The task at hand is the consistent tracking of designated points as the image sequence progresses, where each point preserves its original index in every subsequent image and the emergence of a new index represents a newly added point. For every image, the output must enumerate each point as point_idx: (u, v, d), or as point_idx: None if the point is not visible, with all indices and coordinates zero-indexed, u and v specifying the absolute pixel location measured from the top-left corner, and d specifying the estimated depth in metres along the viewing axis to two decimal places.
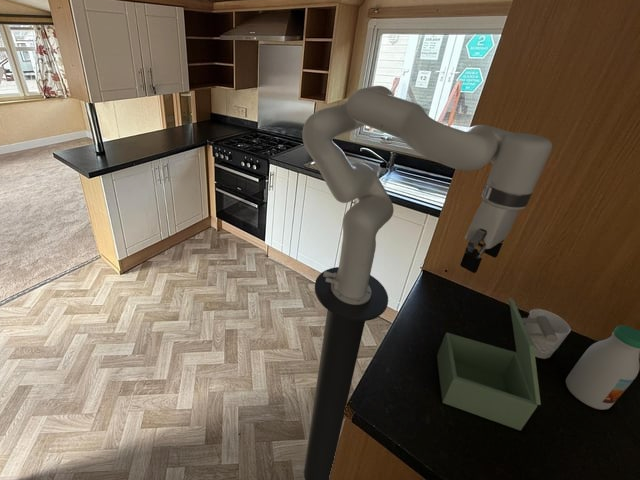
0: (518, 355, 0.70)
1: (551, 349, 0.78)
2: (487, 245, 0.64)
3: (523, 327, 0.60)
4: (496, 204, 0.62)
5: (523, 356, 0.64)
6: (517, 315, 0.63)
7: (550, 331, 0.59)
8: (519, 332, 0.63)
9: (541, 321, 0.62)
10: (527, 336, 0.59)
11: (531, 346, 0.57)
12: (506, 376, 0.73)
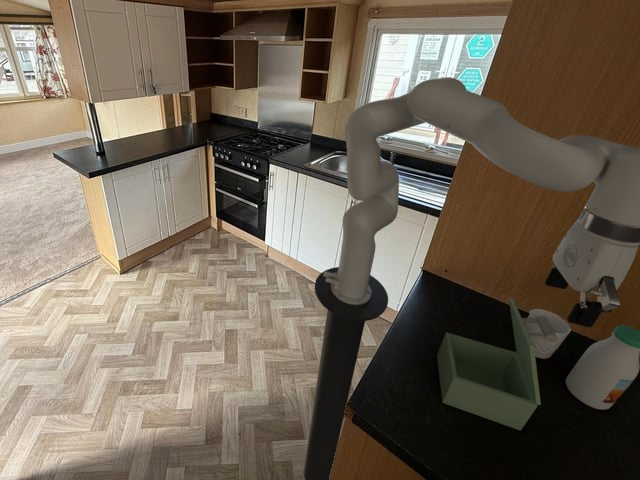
0: (518, 355, 0.70)
1: (551, 349, 0.78)
2: None
3: (523, 327, 0.60)
4: (624, 243, 0.47)
5: (523, 356, 0.64)
6: (517, 315, 0.63)
7: (550, 331, 0.59)
8: (519, 332, 0.63)
9: (541, 321, 0.62)
10: (527, 336, 0.59)
11: (531, 346, 0.57)
12: (506, 376, 0.73)
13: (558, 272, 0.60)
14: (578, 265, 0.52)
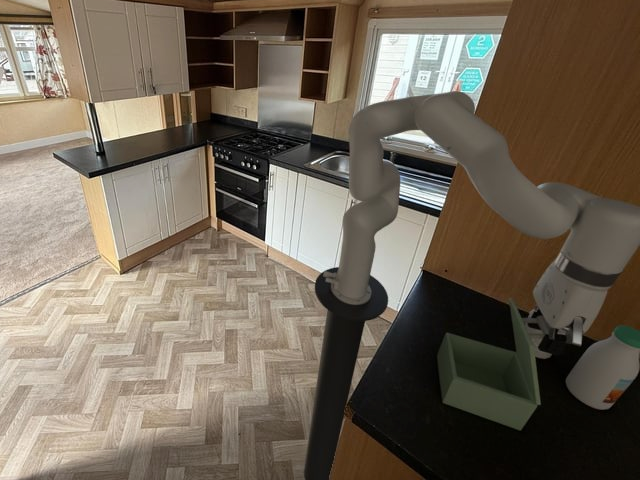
0: (518, 355, 0.70)
1: None
2: (584, 331, 0.54)
3: (523, 327, 0.60)
4: (594, 287, 0.51)
5: (523, 356, 0.64)
6: (517, 315, 0.63)
7: None
8: (519, 332, 0.63)
9: (541, 321, 0.62)
10: (527, 336, 0.59)
11: (531, 346, 0.57)
12: (506, 376, 0.73)
13: None
14: (554, 304, 0.56)
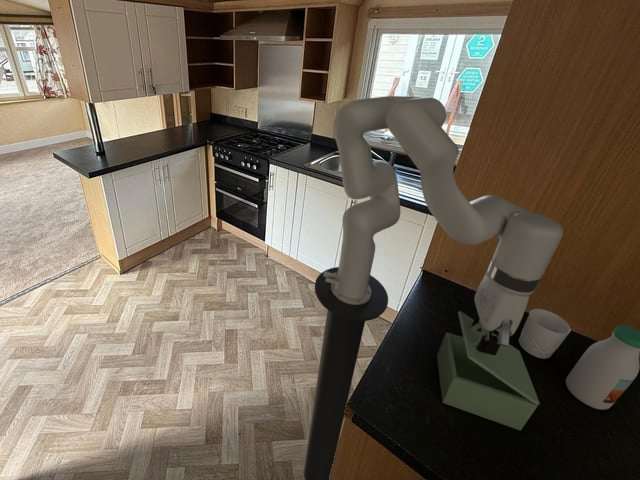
0: None
1: (551, 349, 0.78)
2: (512, 333, 0.59)
3: (465, 339, 0.66)
4: (518, 292, 0.56)
5: None
6: (462, 328, 0.69)
7: (484, 332, 0.64)
8: None
9: (480, 324, 0.67)
10: (467, 347, 0.65)
11: (469, 357, 0.63)
12: None
13: None
14: (487, 308, 0.61)
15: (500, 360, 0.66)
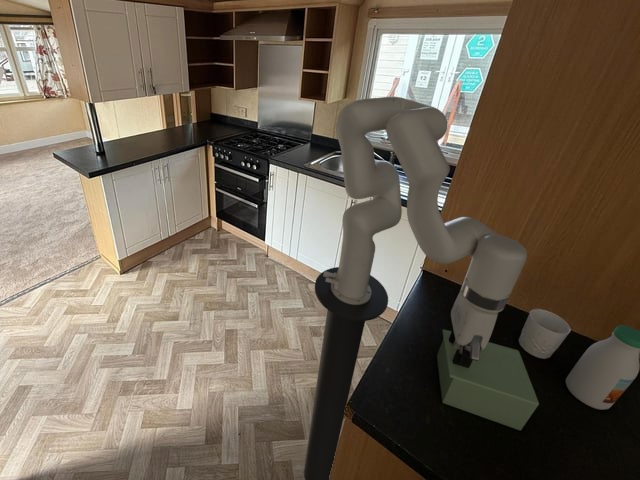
0: None
1: (551, 349, 0.78)
2: (483, 348, 0.62)
3: (447, 358, 0.70)
4: (487, 310, 0.60)
5: None
6: (445, 347, 0.73)
7: (457, 346, 0.68)
8: None
9: None
10: (448, 366, 0.68)
11: (450, 376, 0.66)
12: None
13: None
14: (460, 323, 0.64)
15: (490, 368, 0.68)
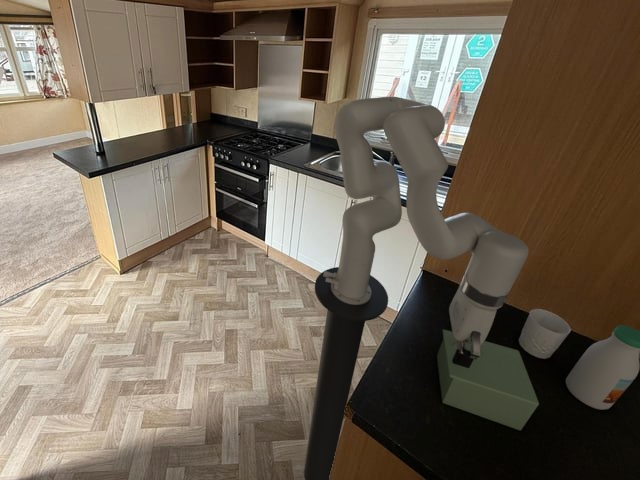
0: None
1: (551, 349, 0.78)
2: (481, 344, 0.62)
3: (447, 358, 0.70)
4: (486, 306, 0.60)
5: None
6: (445, 347, 0.73)
7: (457, 346, 0.68)
8: None
9: None
10: (448, 366, 0.68)
11: (450, 376, 0.66)
12: None
13: None
14: (458, 319, 0.64)
15: (490, 368, 0.68)
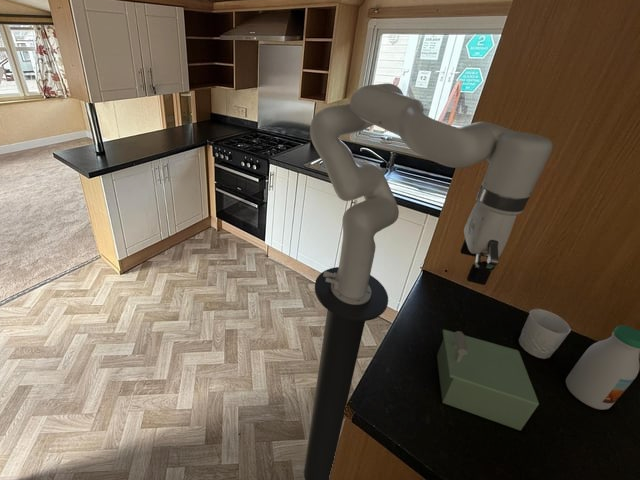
0: None
1: (551, 349, 0.78)
2: (498, 255, 0.59)
3: (447, 358, 0.70)
4: (505, 212, 0.57)
5: None
6: (445, 347, 0.73)
7: (457, 346, 0.68)
8: None
9: (455, 339, 0.71)
10: (448, 366, 0.68)
11: (450, 376, 0.66)
12: None
13: None
14: (474, 232, 0.61)
15: (490, 368, 0.68)
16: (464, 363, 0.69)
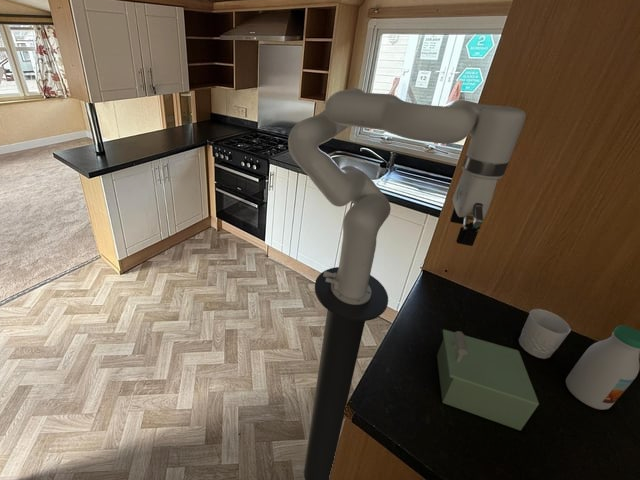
0: None
1: (551, 349, 0.78)
2: (483, 217, 0.66)
3: (447, 358, 0.70)
4: (487, 176, 0.64)
5: None
6: (445, 347, 0.73)
7: (457, 346, 0.68)
8: None
9: (455, 339, 0.71)
10: (448, 366, 0.68)
11: (450, 376, 0.66)
12: None
13: None
14: (461, 198, 0.68)
15: (490, 368, 0.68)
16: (464, 363, 0.69)
